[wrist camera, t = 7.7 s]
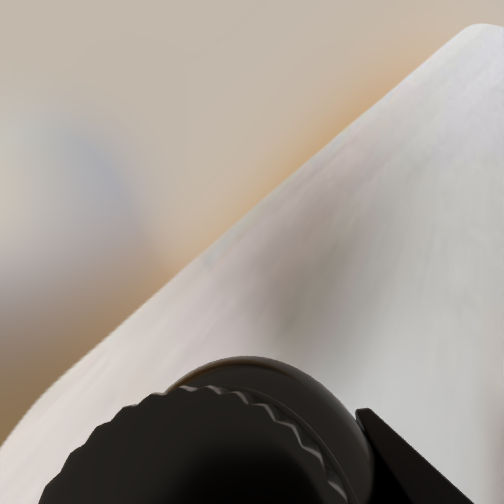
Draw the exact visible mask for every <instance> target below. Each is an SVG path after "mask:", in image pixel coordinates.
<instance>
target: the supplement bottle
mask: <svg viewBox="0 0 504 504" xmlns="http://www.w3.org/2000/svg"><path fill="white" fill-rule="evenodd" d="M38 504H395V503H394V500H393V497H392V494H391V491H390V488H389V485H388V482H387V479H386V477H385V474H384V472H383V469H382V467H381V464H380V462H379V460H378V458H377V456H376V454H375V452H374V450H373V448H372V446H371V444H370V442H369V441H368V439H367V437H366V435H365V434H364V432H363V430H362V429H361V427H360V426H359V425H358V423H357V422H356V420H355V419H354V417H353V416H352V415H351V414H350V412H349V411H348V410H347V409H346V408H345V406H344V405H343V404H342V403H341V402H340V401H339V400H338V399H337V398H336V397H335V396H334V395H333V394H332V393H331V392H330V391H329V390H328V389H327V388H325V387H324V386H323V385H322V384H321V383H319V382H318V381H317V380H315V379H314V378H312V377H311V376H310V375H308V374H306V373H304V372H303V371H301V370H299V369H297V368H295V367H293V366H291V365H288V364H286V363H283V362H280V361H277V360H273V359H269V358H265V357H256V356H237V357H229V358H224V359H220V360H217V361H213V362H210V363H208V364H205V365H203V366H201V367H198V368H197V369H195V370H193V371H191V372H189V373H188V374H186V375H185V376H183V377H182V378H180V379H179V380H177V381H176V382H175V383H174V384H172V385H171V386H170V387H169V388H168V389H167V390H166V391H165V392H164V393H152V394H150V395H149V396H147V397H146V398H145V399H143V400H142V401H141V402H140V403H139V404H134V405H129V406H125V407H123V408H122V409H121V410H120V411H119V412H118V413H117V414H116V415H115V417H114V418H113V419H112V420H111V421H110V422H107V423H104V424H101V425H99V426H97V427H96V428H95V429H94V431H93V432H92V434H91V435H90V436H89V438H88V440H87V441H86V443H85V444H84V445H82V446H81V447H79V448H77V449H75V450H74V451H73V452H71V453H70V455H69V456H68V458H67V460H66V462H65V464H64V466H63V468H62V470H61V472H60V473H59V474H58V475H57V476H56V477H55V478H53V479H52V480H51V481H50V482H49V483H48V484H47V485H46V486H45V488H44V491H43V493H42V495H41V498H40V500H39V503H38Z"/></svg>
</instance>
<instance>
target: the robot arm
mask: <svg viewBox="0 0 504 504" xmlns="http://www.w3.org/2000/svg"><path fill="white" fill-rule="evenodd" d="M355 415H356V422H357V423H358V425H359V426H360V427H361V429H362V430H363V432H364V434H365V435H366V437H367V439H368V441H369V442H370V444H371V446H372V448H373V450H374V452H375V454H376V456H377V458H378V460H379V462H380V464H381V467H382V469H383V472H384V474H385V477H386V479H387V482H388V485H389V488H390V491H391V494H392V497H393V500H394V503H395V504H474V503H473V502H472V501H471V500H470V499H469V498H467V497H466V496H465V495H464V494H463V493H462V492H461V491H460V490H459V489H458V488H456V487H455V486H454V485H453V484H452V483H451V482H450V481H449V480H448V479H447V478H446V477H444V476H443V475H442V474H441V473H440V472H439V471H438V470H437V469H436V468H435V467H433V466H432V465H431V464H430V463H429V462H428V461H427V460H426V459H425V458H424V457H423V456H421V455H420V454H419V453H418V452H417V451H416V450H415V449H414V448H413V447H412V446H410V445H409V444H408V443H407V442H406V441H405V440H404V439H403V438H402V437H401V436H400V435H398V434H397V433H396V432H395V431H394V430H393V429H392V428H391V427H390V426H389V425H387V424H386V423H385V422H384V421H383V420H382V419H381V418H380V417H379V416H378V415H377V414H375V413H374V412H373V411H372V410H371V409H369V408H362V409H357V410H356V411H355Z"/></svg>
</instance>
